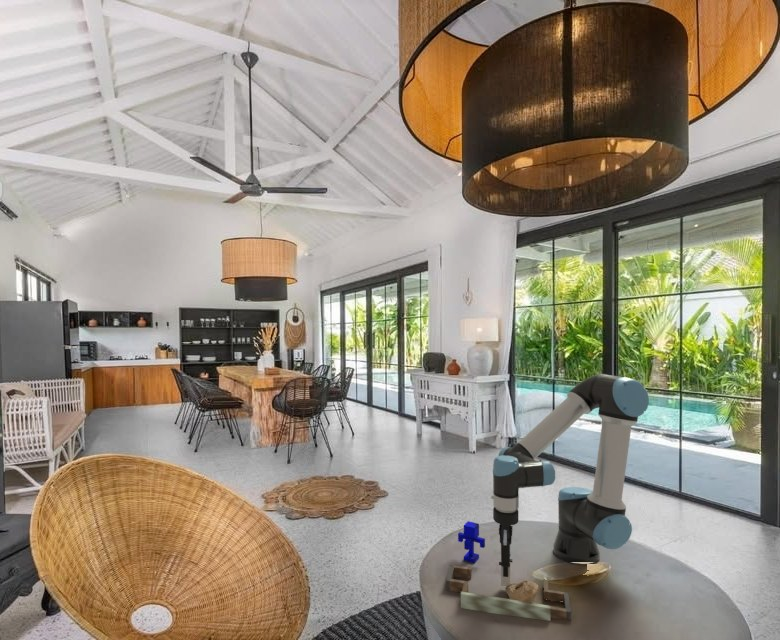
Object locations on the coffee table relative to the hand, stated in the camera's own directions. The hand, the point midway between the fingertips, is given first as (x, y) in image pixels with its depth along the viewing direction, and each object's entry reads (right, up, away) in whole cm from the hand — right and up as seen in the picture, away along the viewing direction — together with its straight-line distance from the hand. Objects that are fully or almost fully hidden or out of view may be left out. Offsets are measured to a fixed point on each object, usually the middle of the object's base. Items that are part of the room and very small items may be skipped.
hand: (505, 584), depth 142 cm
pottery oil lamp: (+2, -2, -7) cm, 7 cm away
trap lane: (-1, -1, -4) cm, 4 cm away
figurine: (-7, -2, +18) cm, 20 cm away
